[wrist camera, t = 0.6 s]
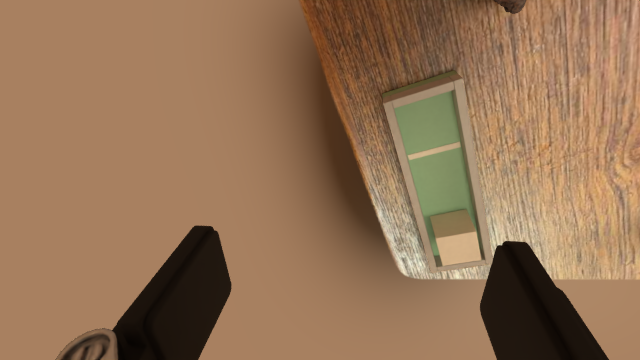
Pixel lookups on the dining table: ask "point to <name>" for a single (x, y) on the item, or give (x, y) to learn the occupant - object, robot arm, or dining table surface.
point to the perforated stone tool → (512, 5)
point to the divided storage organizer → (438, 158)
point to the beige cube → (456, 237)
